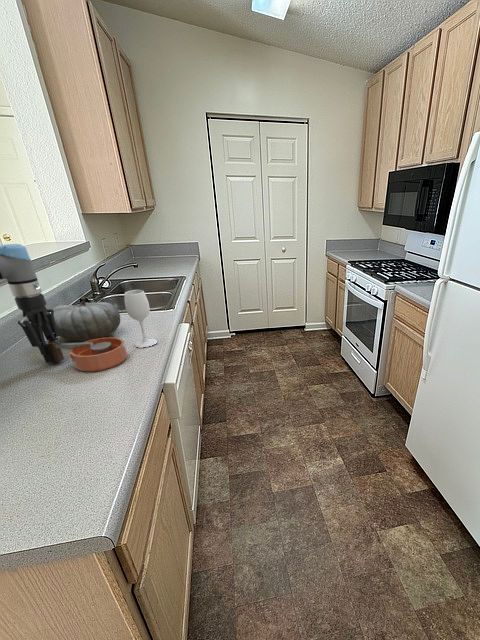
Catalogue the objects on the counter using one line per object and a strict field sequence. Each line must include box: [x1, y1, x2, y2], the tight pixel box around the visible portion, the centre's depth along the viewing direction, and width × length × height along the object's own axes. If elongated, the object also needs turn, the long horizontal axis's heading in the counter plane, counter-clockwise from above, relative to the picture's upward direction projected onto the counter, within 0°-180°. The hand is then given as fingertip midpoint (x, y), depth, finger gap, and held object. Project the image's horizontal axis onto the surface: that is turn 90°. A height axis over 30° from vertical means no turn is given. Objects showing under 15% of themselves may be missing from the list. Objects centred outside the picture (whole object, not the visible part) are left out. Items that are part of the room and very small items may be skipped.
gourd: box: [52, 297, 121, 343], centre depth 136 cm, size 25×25×17 cm
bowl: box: [69, 336, 128, 373], centre depth 117 cm, size 17×17×6 cm
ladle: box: [45, 340, 113, 363], centre depth 115 cm, size 24×6×7 cm, turn 89°
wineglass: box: [123, 289, 158, 349], centre depth 128 cm, size 9×9×21 cm
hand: (53, 360), depth 117 cm, fingers closed on ladle, 2 cm apart
